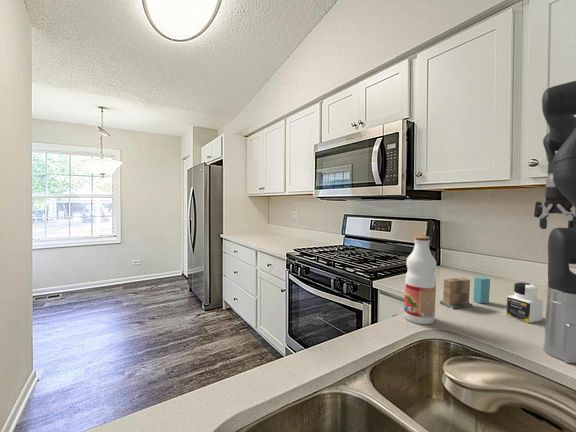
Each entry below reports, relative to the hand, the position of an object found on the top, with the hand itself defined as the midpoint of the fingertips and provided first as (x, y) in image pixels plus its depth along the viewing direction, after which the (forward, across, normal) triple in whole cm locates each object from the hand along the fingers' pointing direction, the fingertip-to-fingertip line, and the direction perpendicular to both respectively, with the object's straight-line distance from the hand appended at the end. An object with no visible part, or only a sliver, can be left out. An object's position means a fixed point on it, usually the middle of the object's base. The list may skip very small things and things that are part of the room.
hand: (556, 230), depth 107 cm
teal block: (+30, -13, -19) cm, 38 cm away
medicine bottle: (+30, +3, -19) cm, 36 cm away
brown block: (+30, -13, -32) cm, 46 cm away
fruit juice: (+30, -6, -56) cm, 64 cm away
